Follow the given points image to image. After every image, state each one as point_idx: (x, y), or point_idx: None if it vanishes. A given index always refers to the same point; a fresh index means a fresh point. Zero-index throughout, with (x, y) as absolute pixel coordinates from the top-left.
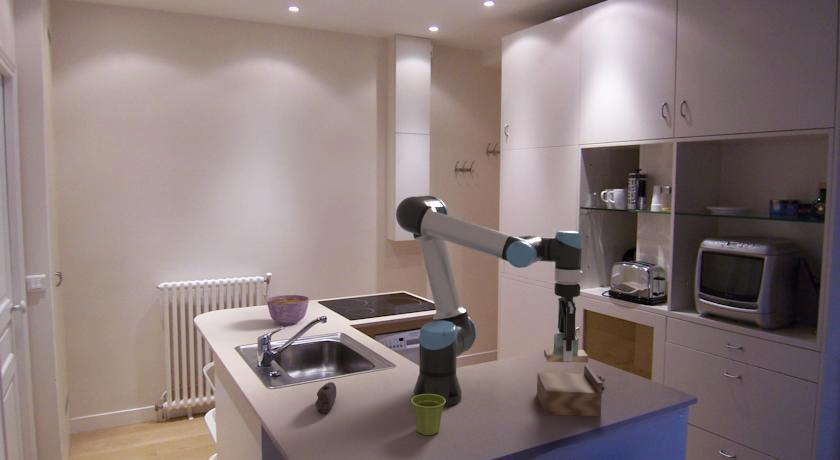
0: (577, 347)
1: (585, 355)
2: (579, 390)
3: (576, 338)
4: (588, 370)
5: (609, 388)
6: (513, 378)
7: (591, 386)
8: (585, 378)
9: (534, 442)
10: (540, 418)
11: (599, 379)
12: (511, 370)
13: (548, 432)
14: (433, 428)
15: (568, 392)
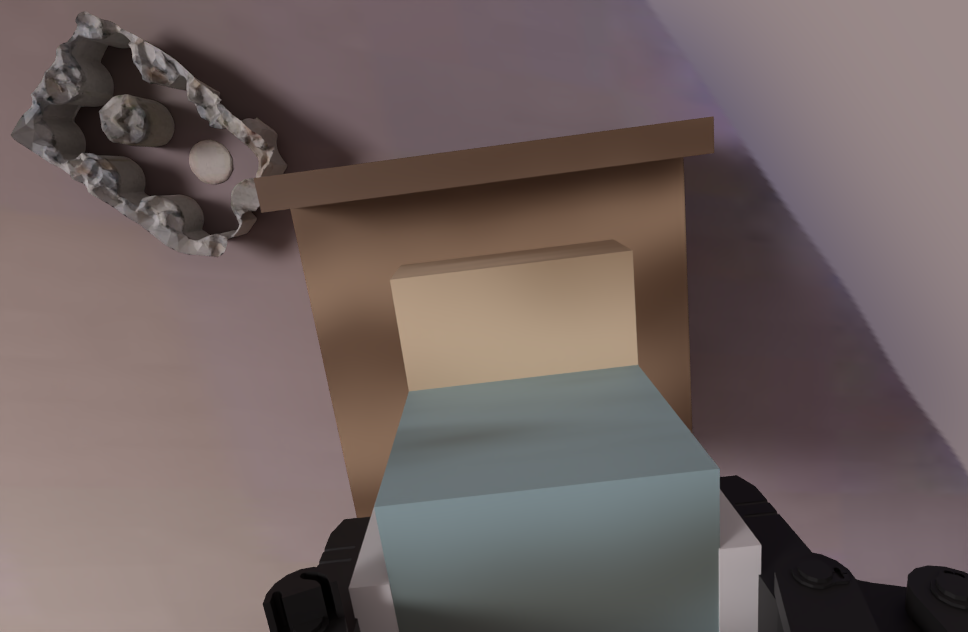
0: (670, 413)
1: (615, 278)
2: (651, 277)
3: (659, 488)
4: (405, 193)
5: (161, 4)
6: (190, 557)
7: (561, 183)
8: (397, 208)
9: (943, 468)
10: (696, 438)
11: (81, 61)
12: (64, 568)
13: (846, 410)
14: None
15: (689, 350)
